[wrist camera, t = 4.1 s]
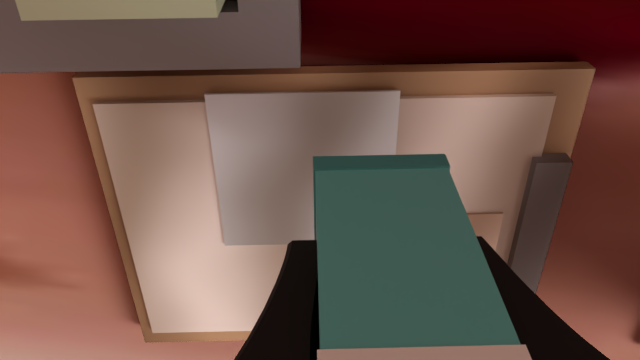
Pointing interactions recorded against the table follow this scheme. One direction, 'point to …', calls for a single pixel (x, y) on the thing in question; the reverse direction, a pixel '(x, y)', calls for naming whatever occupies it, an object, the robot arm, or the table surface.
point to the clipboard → (310, 167)
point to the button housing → (155, 41)
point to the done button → (116, 9)
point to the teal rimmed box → (402, 265)
